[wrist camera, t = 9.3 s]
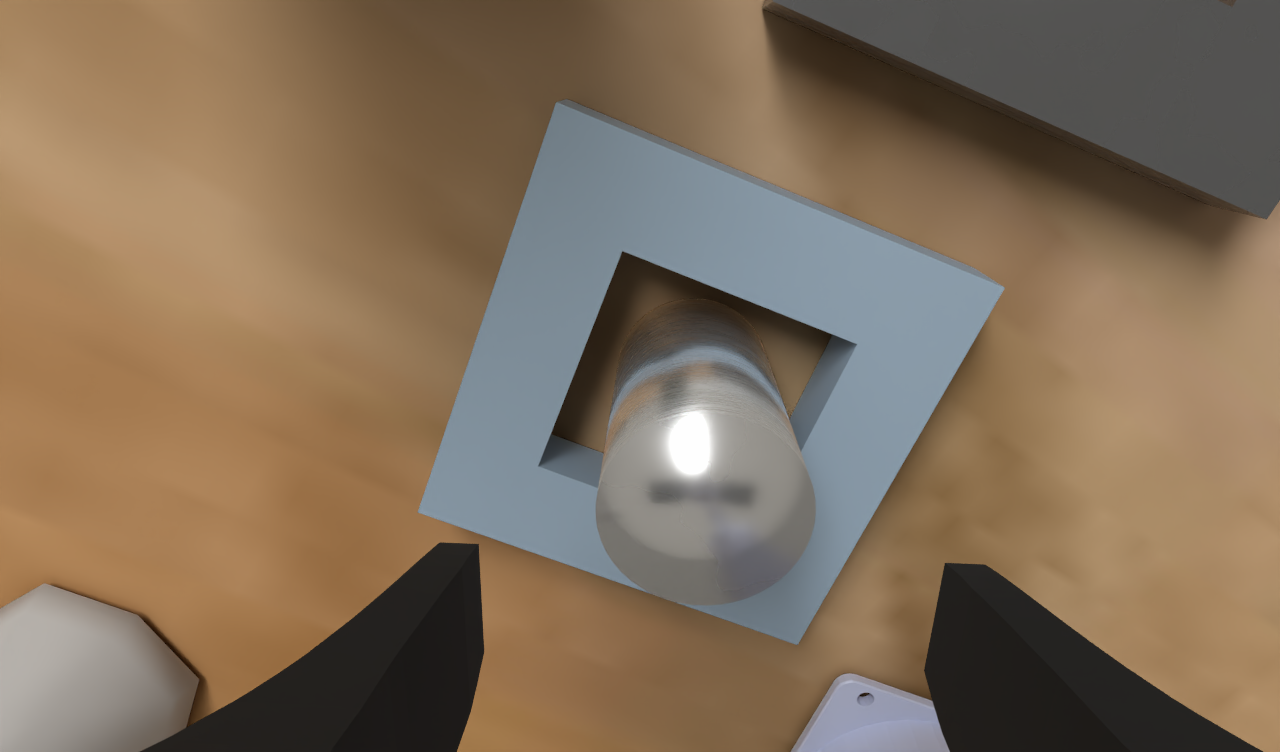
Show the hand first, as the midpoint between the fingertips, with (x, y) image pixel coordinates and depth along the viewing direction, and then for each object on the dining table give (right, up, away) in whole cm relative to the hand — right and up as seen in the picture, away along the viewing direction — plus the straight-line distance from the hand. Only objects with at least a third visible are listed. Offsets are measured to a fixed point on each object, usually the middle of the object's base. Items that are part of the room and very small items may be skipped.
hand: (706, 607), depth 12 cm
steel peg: (0, +4, +9) cm, 10 cm away
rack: (0, +4, +9) cm, 10 cm away
